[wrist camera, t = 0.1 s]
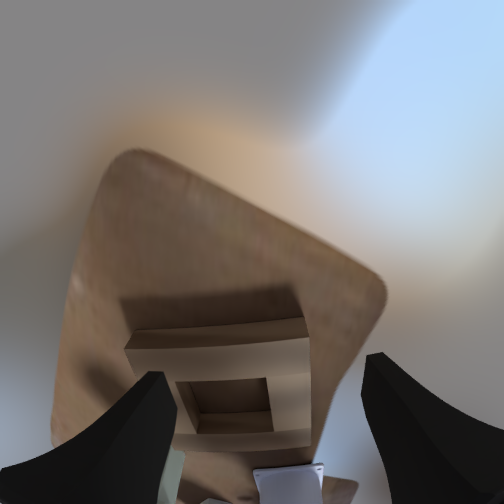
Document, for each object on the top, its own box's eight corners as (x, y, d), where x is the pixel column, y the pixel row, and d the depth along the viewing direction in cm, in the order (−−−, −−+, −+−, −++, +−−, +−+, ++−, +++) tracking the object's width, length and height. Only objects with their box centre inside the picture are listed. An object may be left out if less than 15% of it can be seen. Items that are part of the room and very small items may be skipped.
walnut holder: (308, 425, 24) (310, 445, 22) (179, 431, 25) (174, 450, 23) (304, 316, 20) (309, 337, 18) (135, 330, 21) (123, 349, 19)
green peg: (191, 457, 27) (178, 528, 18) (149, 454, 27) (130, 519, 18) (178, 431, 25) (158, 510, 16) (132, 428, 25) (106, 499, 16)
